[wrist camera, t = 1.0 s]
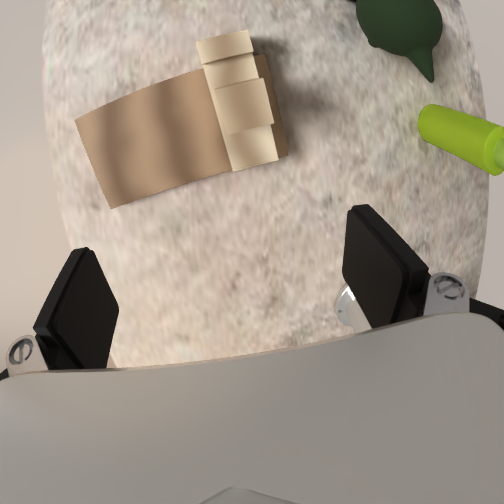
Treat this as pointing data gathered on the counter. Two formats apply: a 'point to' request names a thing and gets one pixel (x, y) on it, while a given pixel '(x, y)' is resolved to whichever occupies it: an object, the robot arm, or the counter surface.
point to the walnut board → (163, 137)
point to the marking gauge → (239, 99)
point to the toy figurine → (403, 29)
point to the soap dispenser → (464, 137)
